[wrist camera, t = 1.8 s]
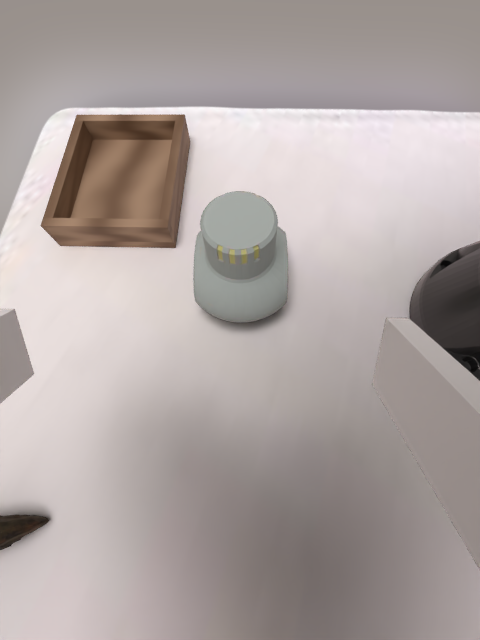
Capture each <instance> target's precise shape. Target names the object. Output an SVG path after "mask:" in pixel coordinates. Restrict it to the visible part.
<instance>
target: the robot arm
mask: <svg viewBox="0 0 480 640" xmlns="http://www.w3.org/2000/svg"><path fill="white" fill-rule="evenodd" d="M410 318H411V320H410V319H409V318H386V321H385V326H384V330H383V335H382V340H381V345H380V349H379V354H378V359H377V363H376V368H375V373H374V378H373V382H372V385H373V387H374V389H375V391H376V392H377V394H378V396H379V397H380V399H381V401H382V403H383V404H384V406H385V408H386V409H387V411H388V413H389V415H390V416H391V418H392V420H393V422H394V423H395V425H396V427H397V428H398V430H399V432H400V434H401V435H402V437H403V439H404V440H405V442H406V444H407V446H408V447H409V449H410V451H411V452H412V454H413V456H414V458H415V459H416V461H417V463H418V465H419V466H420V468H421V470H422V471H423V473H424V475H425V477H426V478H427V480H428V482H429V483H430V485H431V487H432V489H433V490H434V492H435V494H436V496H437V497H438V499H439V501H440V502H441V504H442V506H443V508H444V509H445V511H446V513H447V514H448V516H449V518H450V520H451V521H452V523H453V525H454V527H455V528H456V530H457V532H458V533H459V535H460V537H461V539H462V540H463V542H464V544H465V545H466V547H467V549H468V551H469V552H470V554H471V556H472V558H473V559H474V561H475V563H476V564H477V566H478V568H479V570H480V241H478V242H475V243H473V244H470V245H468V246H465V247H463V248H460V249H458V250H455V251H453V252H451V253H450V254H448V255H446V256H445V257H443V258H442V259H440V260H439V261H438V262H437V263H436V264H435V265H434V266H433V267H431V268H430V269H429V270H428V271H427V272H426V273H425V274H424V275H423V277H422V278H421V279H420V280H419V282H418V283H417V285H416V287H415V289H414V292H413V295H412V299H411V305H410ZM32 375H34V372H33V368H32V365H31V362H30V358H29V355H28V352H27V349H26V345H25V342H24V339H23V335H22V332H21V329H20V325H19V322H18V319H17V315H16V312H15V309H0V403H2V402H3V401H4V400H5V399H6V398H7V397H8V396H10V395H11V394H12V393H13V392H14V391H15V390H16V389H18V388H19V387H20V386H21V385H22V384H23V383H24V382H26V381H27V380H28V379H29V378H30V377H31V376H32Z"/></svg>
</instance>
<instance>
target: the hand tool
mask: <svg viewBox="0 0 480 640" xmlns="http://www.w3.org/2000/svg"><path fill="white" fill-rule="evenodd" d="M48 521H49V520H48V519H47V518H46V517H45V518H44V517H40V516H35V515H33V516H29V515H21V516H20V515H11V516H4V517H3V516H0V550H2V549H4V548H7V547H9V546H11V545H12V544H13V543H14V542H16V541H18V540H20V539H21V538H22V537H23V536H25V535H27V534H29V533H31V532H33V531H35V530H36V529H38V528H40V527H42V526H43V525H45V524H46V523H47V522H48Z"/></svg>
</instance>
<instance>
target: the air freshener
mask: <svg viewBox="0 0 480 640" xmlns="http://www.w3.org/2000/svg"><path fill="white" fill-rule="evenodd" d="M277 225H278V219H277V215H276V212H275V210H274V208H273V206H272V205H271V204H270V203H269V202H268V201H267V200H266V199H264V198H263V197H261V196H258V195H256V194H254V193H250V192H244V191H235V192H230V193H226V194H224V195H221V196H219V197H217V198H215V199H214V200H213V201H211V202H210V203H209V204H208V205H207V207H206V208H205V210H204V211H203V214H202V216H201V221H200V227H201V231H200V232H199V233H198V235H197V239H196V245H195V254H194V296H195V301H196V303H197V304H198V305H199V306H200V307H201V308H202V309H204V310H205V311H206V312H208V313H209V314H211V315H213V316H215V317H217V318H219V319H222V320H225V321H231V322H252V321H257V320H260V319H263V318H265V317H267V316H269V315H272V314H273V313H275V312H276V311H277V310H279V309H280V308H281V307H282V306H283V305H284V304H285V303H286V301H287V289H288V253H287V239H286V233H285V232H284V231H283V230H282V229H281V228H279V227H278V226H277Z"/></svg>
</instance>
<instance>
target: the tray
mask: <svg viewBox="0 0 480 640" xmlns="http://www.w3.org/2000/svg"><path fill="white" fill-rule="evenodd" d="M189 145H190V138H189V133H188V129H187V124H186V119H185V115H77V116H76V119H75V122H74V125H73V128H72V131H71V134H70V137H69V140H68V143H67V146H66V150H65V153H64V156H63V159H62V162H61V165H60V168H59V171H58V174H57V177H56V180H55V183H54V186H53V189H52V193H51V196H50V199H49V202H48V205H47V208H46V211H45V214H44V217H43V220H42V223H41V227H42V228H43V229H44V230H45V231H46V232H47V233H48V234H49V235H50V236H51V237H52V238H53V239H54V240H55V241H56V242H57V243H58V244H59V245H60V246H104V247H160V248H175V247H176V240H177V233H178V226H179V218H180V211H181V204H182V196H183V189H184V182H185V174H186V167H187V160H188V153H189Z"/></svg>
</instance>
